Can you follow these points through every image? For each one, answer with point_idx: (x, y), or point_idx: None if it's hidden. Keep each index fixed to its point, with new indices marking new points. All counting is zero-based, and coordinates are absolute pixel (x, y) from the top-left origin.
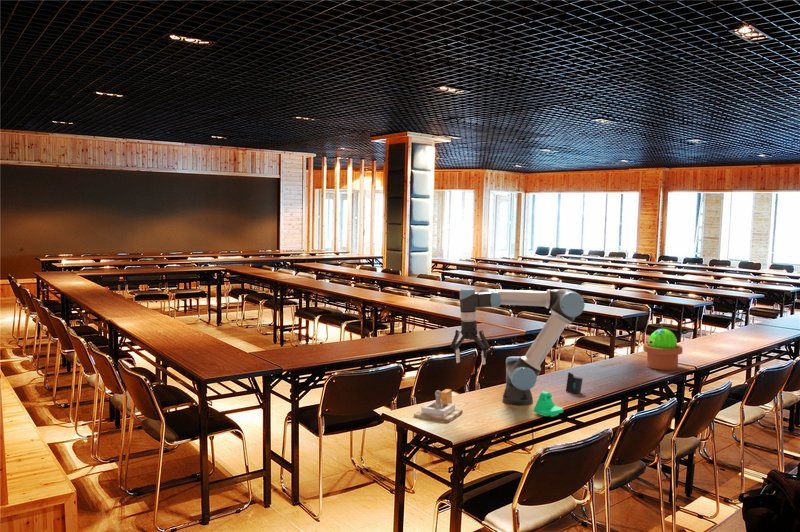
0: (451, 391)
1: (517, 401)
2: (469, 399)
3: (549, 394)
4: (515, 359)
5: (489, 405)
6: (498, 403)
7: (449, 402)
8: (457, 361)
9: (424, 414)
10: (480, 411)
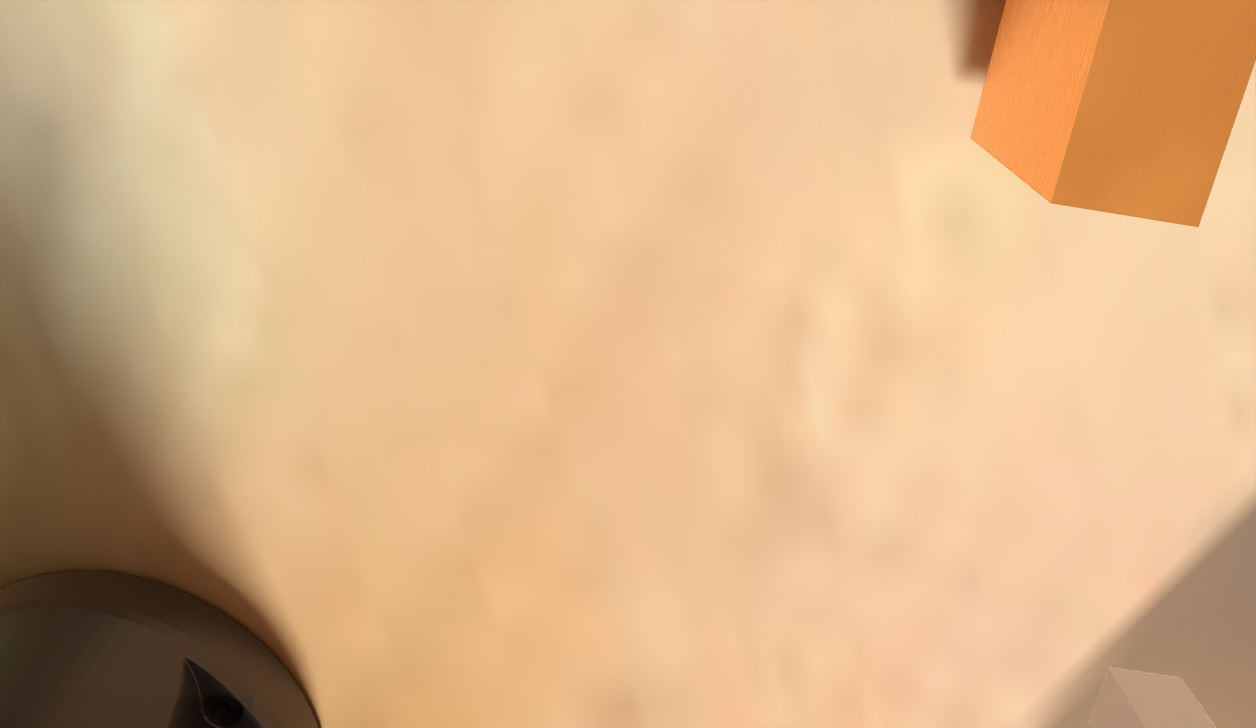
0: (1044, 182)
1: (28, 600)
2: (782, 658)
3: None
4: None
5: (421, 468)
6: (331, 589)
7: (1018, 43)
8: (1150, 717)
9: None
10: (461, 137)
